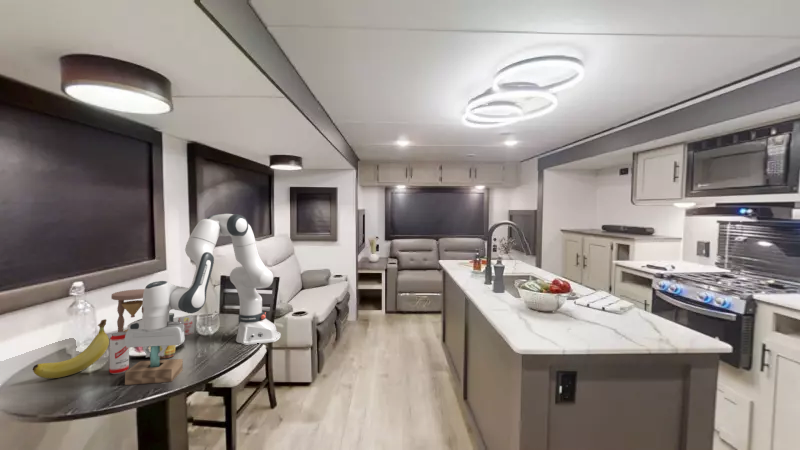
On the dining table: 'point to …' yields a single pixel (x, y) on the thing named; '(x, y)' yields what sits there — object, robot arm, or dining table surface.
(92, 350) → the banana
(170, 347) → the sauce bottle
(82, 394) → the dining table surface
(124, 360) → the beer can
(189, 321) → the white red printed box
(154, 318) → the robot arm
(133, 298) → the hourglass
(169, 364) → the socket block
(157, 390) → the dining table surface
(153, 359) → the peg
